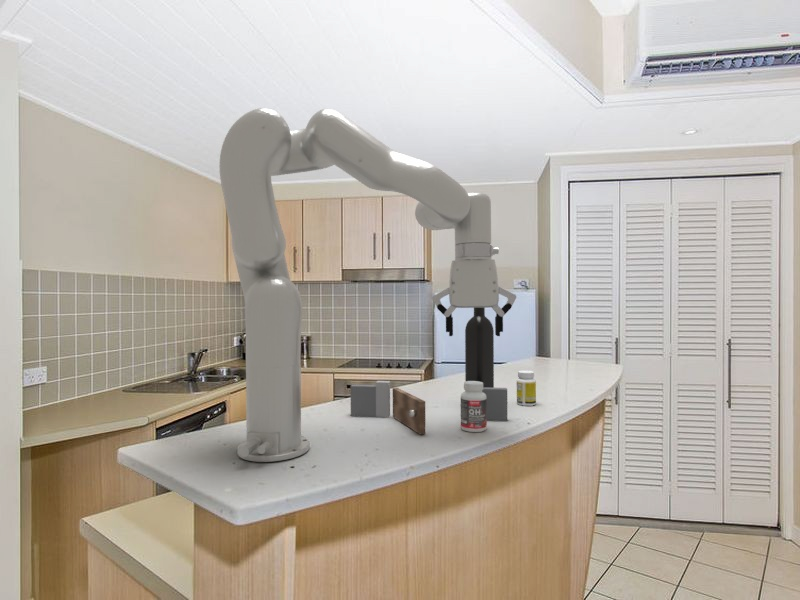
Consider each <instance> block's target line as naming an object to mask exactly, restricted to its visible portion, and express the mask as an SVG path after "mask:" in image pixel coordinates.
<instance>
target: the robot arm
mask: <svg viewBox="0 0 800 600" xmlns="http://www.w3.org/2000/svg"><path fill="white" fill-rule="evenodd" d="M219 154H220V155H219V179H220V185H221V190H222V193H223V194H222V195H223V200H224V205H225V209H226V210H225V211H226V215H227V220H228V223H229V228H230V234H231V248H232V253H233V257H234V260H235V266H236V270H237V273H238V278H239V282H240V286H241V290H242V295H243V298H244V315H245V316H244V318H245V388H246V389H245V391H246V392H245V393H246V394H245V395H246V396H245V397H246V399H245V409H246V411H245V413H246V418H245V420H246V425H245V426H246V429H245V430H246V433H245V434H246V439H245V440H244V441H243V442H241V443H240V444H239V445H238V446H237V448H236V450H237V451H236V452H237V456H238V457H239V458H241V459H242V460H245V461H249V462H255V463H270V462H271V463H273V462H280V461H287V460H291V459H294V458H297V457H299V456H302V455H304V454H306V453H307V452H308V451H309V450H310V448H311V441H310V439H309V438H307V437H305V436H303V435H302V376H301V375H302V363H301V361H302V360H301V357H302V356H301V355H302V354H301V352H302V351H301V348H302V347H301V346H302V345H301V342H302V340H301V339H302V337H301V334H302V323H303V322H302V320H303V300H302V296H301V293H300V291H299V289H298V287H297V286H296V285H295V283H294V282H293V281H291V278H290V273H289V269H288V264H287V260H286V256H285V252H286V247H287V245H286V244H287V242H286V241H287V240H286V236H285V234H284V230H283V229H282V228H283V227H282V224H281V221H280V217H279V213H278V209H277V205H276V200H275V199H276V198H275V192H274V188H273V183H272V177H275V176H276V177H277V176H283V175H290V174H291V175H292V174H299V173H308V172H312V171H319V170H324V169H326V168H327V169H328V168H330V167H333V166H334V165H335V166H336V167H338V168H339V169H340V170H342V171H343V172H345V173H346V174H348V175H349V176H351V177H352V178H354V179H355V180H357V181H358V182H360V183H361V184H363V185H364V186H365V187H367V188H369V189H371V190H375V191H381V192H394V193H398V194H402V195H405V196H408V197H410V198H412V199H413V200H416V201H418V203H417V204H416V206H415V210H414V215H415V220H416V221H417V223H418V225H420V226H421V227H422V228H424V229H426V230H429V231H441V230H450V229H454V260H451V264H450V271H449V285H448V287H447V288H445V289H444V290H442V291H440V292H438V293H436V294H434V295H432V297H431V299H432V301H433V303H434V305H435V307H436V308H437V310H438V311H439V312H440V313H441V314H442V315H443V316H444V317H445V332H446V333H449V334H448V337H453V336H454V320H453V319H454V317H453V315H452V314H453V312H454V311H455V310H456V309H457V308H458V309H459V308H460V309H462V308H463V309H469V308H470V309H472V308H473V309H474V308H485V309H486V308H491V309H492V310H493V311H494V312H495V314H496V315H495V317H494V320H495V321H494V325H495V327H494V328H495V330H494V331H495V333H494V334H495V336H497V337H500V336H501V333H503V332H504V316H505V315H506V314H507V313H508V312H509V310H511V308H512V307H513V305H514V303H515V301H516V299H517V295H516V293H515V294H514V293H513V292H510V291H508V290H506V289H505V288H503V287H500V286H499V282H498V281H499V278H498V272H497V271H498V270H497V265H496V261H495V259H493V258H492V257H493V256H495V255H499V253H500V252H499V247H495V246H493V245H492V204H491V197H490V196H489V194H486V193H483V192H467V190H466V189H465V188H464V186H463V185H461V184H460V183H459V182H458V181H457V180H456V179H453V178H454V177H453V178H452V177H451V176H450V175H449V174H447V173H446V172H444V171H443V170H441V169H440V168H438V166H437V167H436V166H435V165H433V164H431V163H430V162H428V161H425V160H421V159H419V158H417V157H414V156H411V155H408V154H405V153H401V152H397V151H396V150H394V149H392V148H390V147H389V146H387V145H386V144H384V143H383V142H382V141H380V139H377V138H376V137H375V136H373V135H372V134H370V133H369V132H367V131H366V130H365V129H364V128H362V127H361V126H360V125H358V124H357V123H355V122H354V121H352V120H351V119H350V118H349V117H347V116H346V115H345V114H343V113H341V112H339V111H338V110H335V109H333V108H323V109H320V110H318V111H316V112H315V113H314V114H313V115H312V116H311V117H310V119H309V120H308V123H307V124H306V127H305V128H302V129H295V130H290V127H289V124H288V123H287V121H286V120H285V118H284V117H283V116H282V115H281V114H280V113H279V112H278V111H275V110H274V109H271V108H266V107H259V108H255V109H252V110H250V111H248V112H246V113H244V114H243V115H242V116H241V117H239V118H238V119H236V121H235V122H234V123H233V124H232V126H231V127H230V128H229V130H228V131H227V133H226V135H225V137H224V140H223V142H222V146H221V150H220V153H219ZM499 295H501V296H503V297H505V298H507V300H506V303H505V304H504V305H503V307H500V306H499V299H500V298H499V297H500V296H499ZM447 296H448V299H449V305H450V306H448V308H446V307H445V306H444V305H443V303H442V302H441V299H442V298H445V297H447Z"/></svg>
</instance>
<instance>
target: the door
mask: <svg viewBox="0 0 800 600" xmlns="http://www.w3.org/2000/svg"><path fill="white" fill-rule="evenodd" d="M392 418H395V419H396V420H398V421H399V422H401V423H402V424H403V425H405V426H407V427H408V428H409V429H411V430H412V431H414V432H416V433H418V435H425V434H426V401H425V400H424V399H421V398H420V397H417V396H416V395H414V394H411V393H409V392H407V391H405V390H403V389H401V388H399V387H393V388H392Z"/></svg>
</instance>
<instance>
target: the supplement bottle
mask: <svg viewBox="0 0 800 600" xmlns="http://www.w3.org/2000/svg"><path fill="white" fill-rule="evenodd" d="M517 377H518V378H516V403H517V405H519V406H522V405H523V406H524V407H533V405H534V406H536V404H537V385H536V384H537V382H536V379H535V372H534V371H533V370H525V369H524V370H518V372H517Z"/></svg>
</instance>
